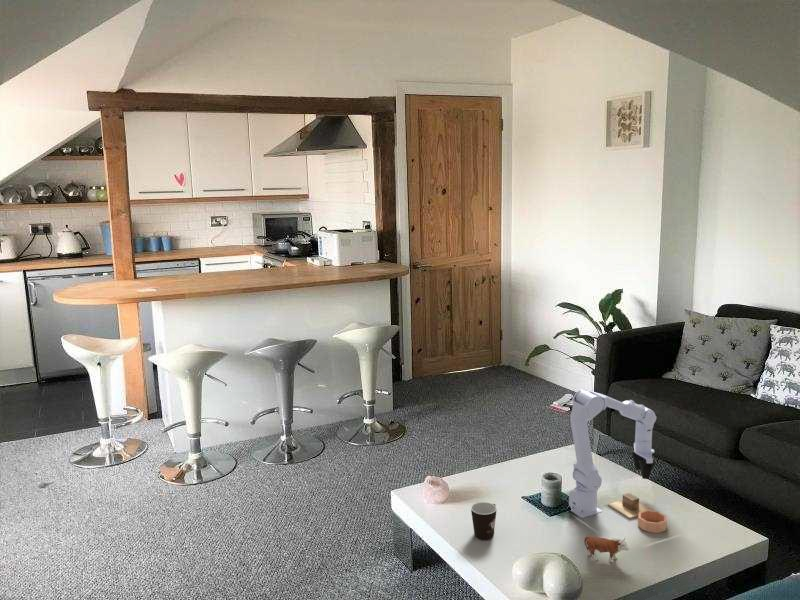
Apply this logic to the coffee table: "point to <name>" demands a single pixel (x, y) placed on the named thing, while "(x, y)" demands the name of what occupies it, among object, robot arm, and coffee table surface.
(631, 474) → the coffee table surface
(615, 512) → the mat
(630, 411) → the robot arm
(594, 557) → the bull figurine
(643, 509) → the oak lid
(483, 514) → the coffee mug
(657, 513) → the terracotta bowl
